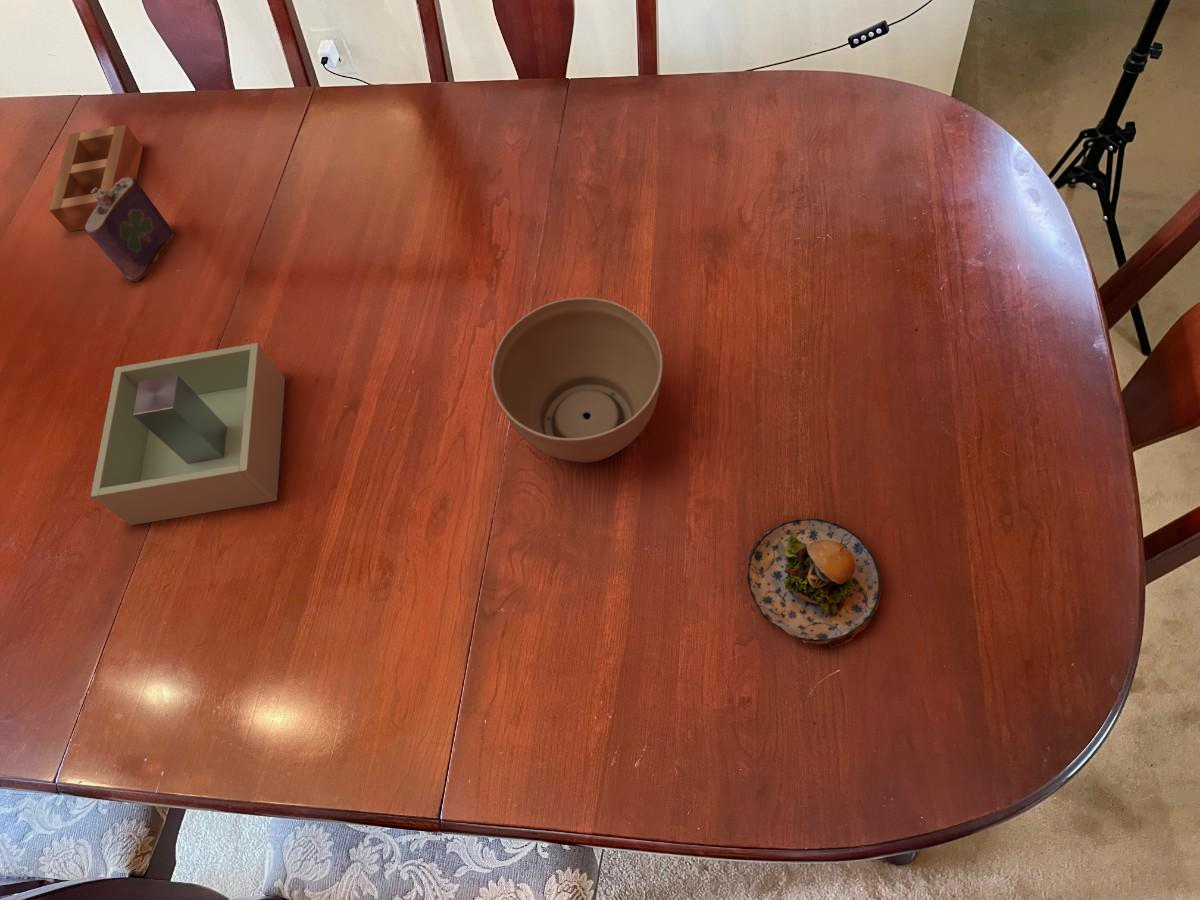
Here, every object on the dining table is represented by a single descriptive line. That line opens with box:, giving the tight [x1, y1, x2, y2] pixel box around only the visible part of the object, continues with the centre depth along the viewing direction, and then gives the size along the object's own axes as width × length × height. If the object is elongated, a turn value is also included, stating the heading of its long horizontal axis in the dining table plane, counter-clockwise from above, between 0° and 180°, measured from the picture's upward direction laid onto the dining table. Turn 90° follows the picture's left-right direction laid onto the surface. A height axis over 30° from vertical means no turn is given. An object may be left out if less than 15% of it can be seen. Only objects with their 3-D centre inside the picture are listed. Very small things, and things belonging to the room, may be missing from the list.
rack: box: [48, 123, 144, 233], centre depth 113 cm, size 8×14×4 cm, turn 8°
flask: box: [84, 177, 174, 282], centre depth 103 cm, size 9×3×11 cm, turn 163°
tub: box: [90, 342, 286, 526], centre depth 89 cm, size 16×16×7 cm
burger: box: [746, 517, 882, 649], centre depth 74 cm, size 12×12×8 cm
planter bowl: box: [490, 296, 664, 463], centre depth 84 cm, size 16×16×11 cm
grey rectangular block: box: [133, 375, 227, 464], centre depth 87 cm, size 4×4×10 cm
